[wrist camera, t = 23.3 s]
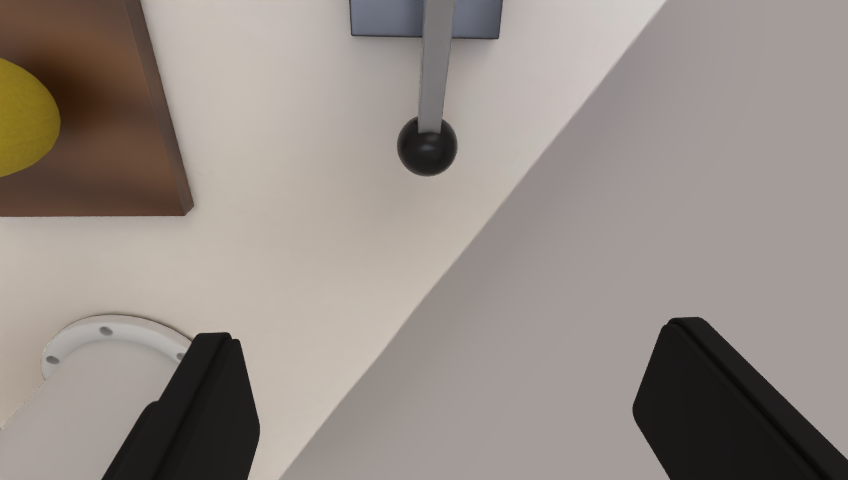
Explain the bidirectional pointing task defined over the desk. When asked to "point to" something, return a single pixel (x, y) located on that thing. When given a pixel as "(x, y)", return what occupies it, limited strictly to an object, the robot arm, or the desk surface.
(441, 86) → the lever
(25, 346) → the desk surface
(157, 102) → the board
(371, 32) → the lever stand
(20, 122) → the lemon
